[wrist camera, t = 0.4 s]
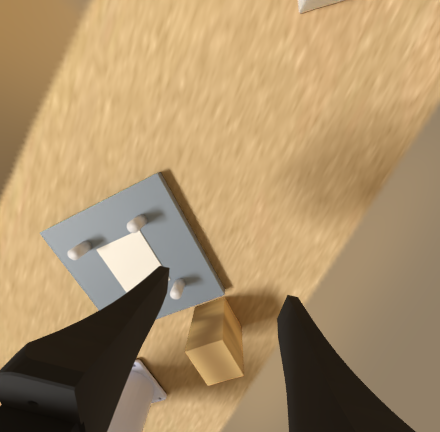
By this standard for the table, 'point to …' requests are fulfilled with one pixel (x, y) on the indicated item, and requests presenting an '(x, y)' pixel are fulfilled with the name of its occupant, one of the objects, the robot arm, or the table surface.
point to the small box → (314, 4)
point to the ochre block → (215, 342)
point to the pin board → (135, 247)
